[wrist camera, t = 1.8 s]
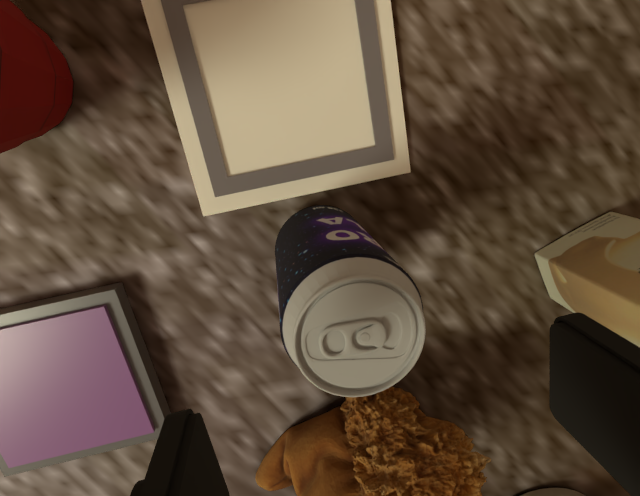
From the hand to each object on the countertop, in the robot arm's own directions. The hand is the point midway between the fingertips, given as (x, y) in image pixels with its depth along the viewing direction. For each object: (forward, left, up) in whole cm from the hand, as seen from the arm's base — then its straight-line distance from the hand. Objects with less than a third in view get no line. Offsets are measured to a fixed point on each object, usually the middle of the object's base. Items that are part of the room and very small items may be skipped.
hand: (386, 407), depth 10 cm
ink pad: (+18, +5, -16) cm, 25 cm away
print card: (0, -10, -16) cm, 19 cm away
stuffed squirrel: (0, +15, -16) cm, 22 cm away
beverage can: (0, 0, -16) cm, 16 cm away
